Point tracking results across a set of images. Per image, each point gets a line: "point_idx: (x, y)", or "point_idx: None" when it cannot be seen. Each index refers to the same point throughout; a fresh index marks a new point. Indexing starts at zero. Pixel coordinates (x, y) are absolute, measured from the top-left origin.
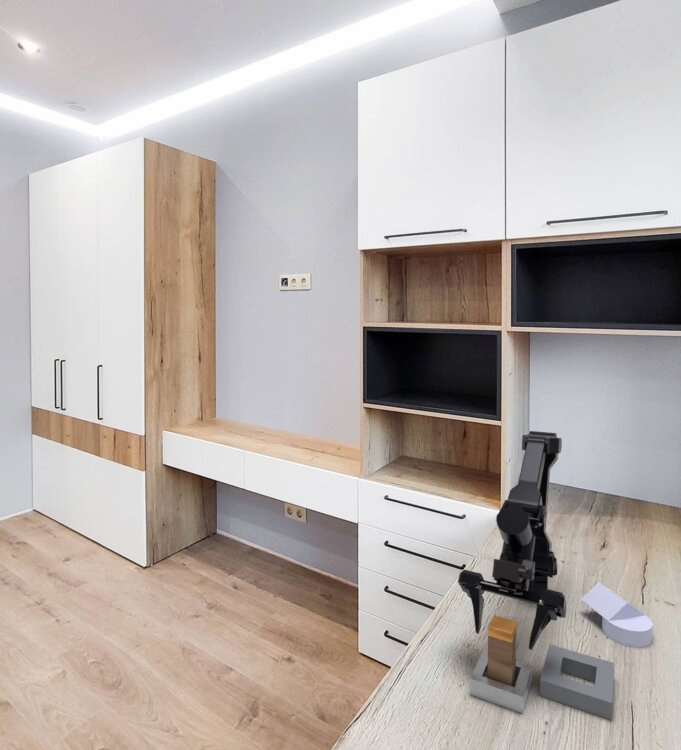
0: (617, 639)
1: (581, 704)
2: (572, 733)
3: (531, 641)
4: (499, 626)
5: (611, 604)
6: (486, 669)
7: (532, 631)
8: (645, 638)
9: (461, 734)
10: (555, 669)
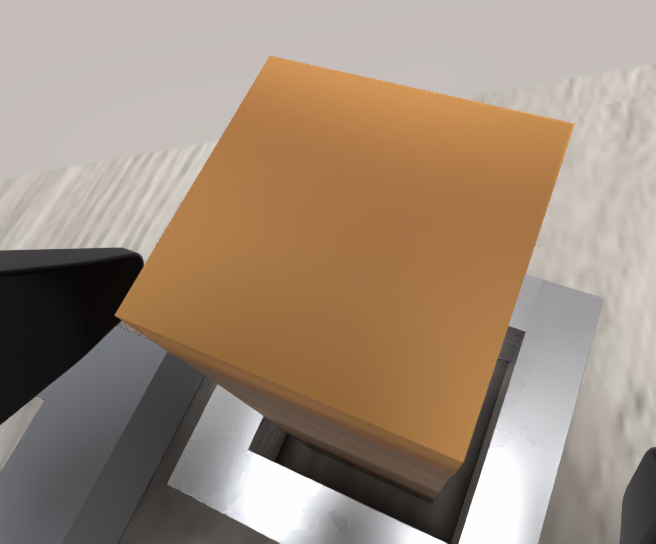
0: None
1: None
2: (155, 188)
3: (87, 257)
4: (401, 167)
5: None
6: (483, 456)
7: (4, 266)
8: None
9: (602, 108)
10: (37, 455)
